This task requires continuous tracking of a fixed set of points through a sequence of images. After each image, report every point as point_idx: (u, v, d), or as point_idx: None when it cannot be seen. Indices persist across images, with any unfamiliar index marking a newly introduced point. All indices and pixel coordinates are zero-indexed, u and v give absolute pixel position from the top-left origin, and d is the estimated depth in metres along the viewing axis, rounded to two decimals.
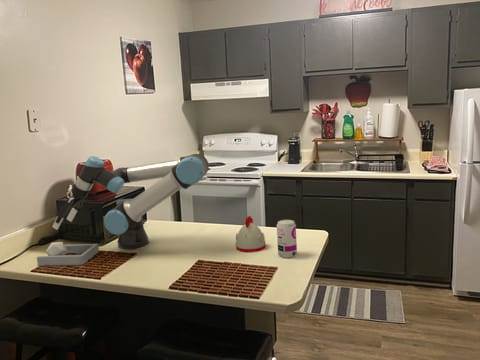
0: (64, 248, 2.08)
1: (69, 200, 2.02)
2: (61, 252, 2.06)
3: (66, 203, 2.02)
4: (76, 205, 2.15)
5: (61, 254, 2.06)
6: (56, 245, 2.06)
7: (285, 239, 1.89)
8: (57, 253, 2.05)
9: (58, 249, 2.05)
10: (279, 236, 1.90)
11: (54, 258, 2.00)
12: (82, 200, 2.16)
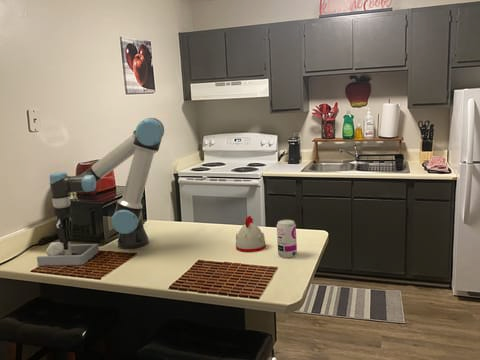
0: None
1: (57, 227, 2.00)
2: (61, 252, 2.06)
3: (58, 230, 2.01)
4: None
5: (61, 254, 2.06)
6: (56, 245, 2.06)
7: (285, 239, 1.89)
8: (57, 253, 2.05)
9: (58, 249, 2.05)
10: (279, 236, 1.90)
11: (54, 258, 2.00)
12: (71, 225, 2.10)
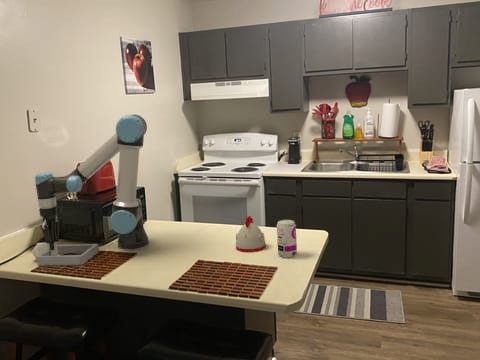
0: None
1: (43, 227, 2.01)
2: (46, 253, 2.06)
3: (44, 230, 2.02)
4: None
5: (46, 255, 2.07)
6: (42, 245, 2.07)
7: (285, 239, 1.89)
8: (42, 253, 2.06)
9: (43, 250, 2.06)
10: (279, 236, 1.90)
11: (54, 258, 2.00)
12: (57, 226, 2.11)
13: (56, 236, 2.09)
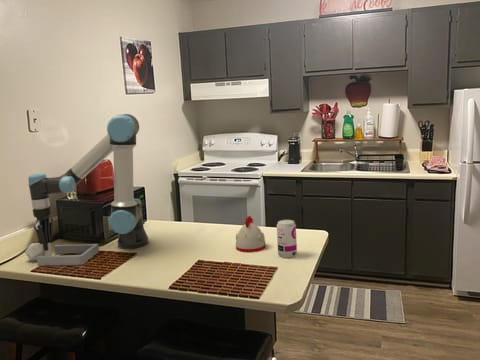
0: (43, 249, 2.09)
1: (36, 228, 2.01)
2: (40, 253, 2.07)
3: (37, 231, 2.02)
4: None
5: (40, 255, 2.07)
6: (35, 246, 2.07)
7: (285, 239, 1.89)
8: (36, 254, 2.06)
9: (37, 250, 2.06)
10: (279, 236, 1.90)
11: (54, 258, 2.00)
12: (51, 226, 2.11)
13: (50, 237, 2.09)
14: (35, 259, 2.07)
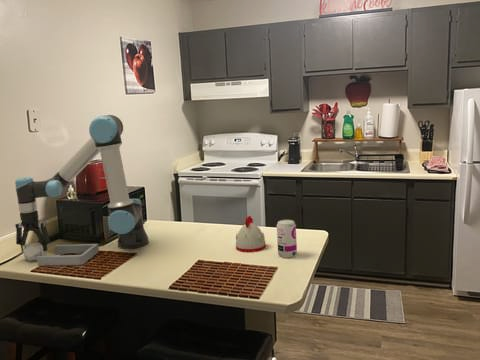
0: None
1: None
2: (38, 253, 2.07)
3: None
4: None
5: (38, 255, 2.07)
6: (33, 246, 2.07)
7: (285, 239, 1.89)
8: (34, 254, 2.06)
9: (35, 250, 2.06)
10: (279, 236, 1.90)
11: (54, 258, 2.00)
12: None
13: (41, 240, 2.07)
14: (33, 259, 2.07)
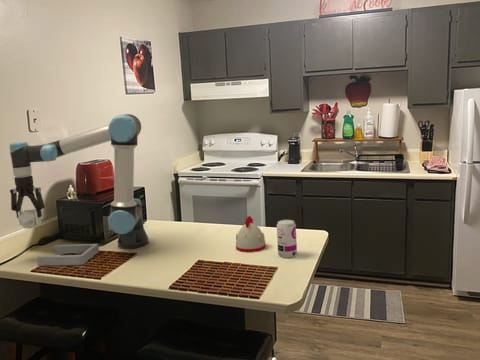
0: None
1: None
2: (32, 219, 2.04)
3: None
4: None
5: (32, 221, 2.04)
6: (27, 212, 2.04)
7: (285, 239, 1.89)
8: (28, 220, 2.03)
9: (29, 216, 2.04)
10: (279, 236, 1.90)
11: (54, 258, 2.00)
12: (36, 196, 2.03)
13: (36, 205, 2.04)
14: (27, 225, 2.05)
